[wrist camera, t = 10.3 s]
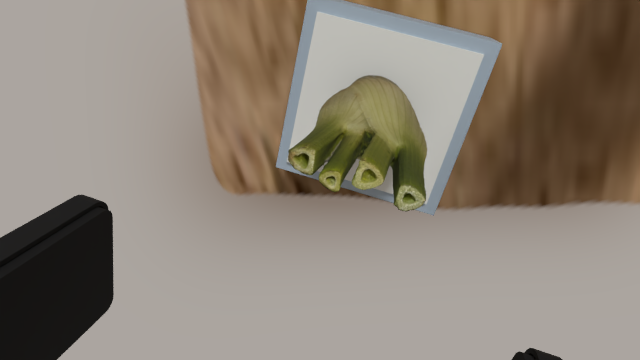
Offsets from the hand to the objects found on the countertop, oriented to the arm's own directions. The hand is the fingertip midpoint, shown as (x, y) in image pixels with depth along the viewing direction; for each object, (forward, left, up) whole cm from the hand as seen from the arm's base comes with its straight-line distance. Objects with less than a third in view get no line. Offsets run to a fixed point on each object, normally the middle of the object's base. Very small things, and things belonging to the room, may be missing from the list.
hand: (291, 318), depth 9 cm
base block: (0, 0, -25) cm, 25 cm away
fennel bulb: (0, 0, -20) cm, 20 cm away
